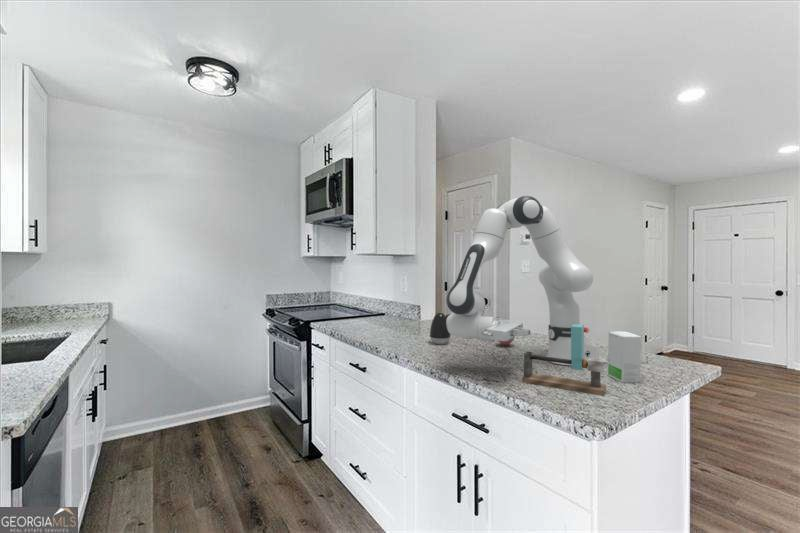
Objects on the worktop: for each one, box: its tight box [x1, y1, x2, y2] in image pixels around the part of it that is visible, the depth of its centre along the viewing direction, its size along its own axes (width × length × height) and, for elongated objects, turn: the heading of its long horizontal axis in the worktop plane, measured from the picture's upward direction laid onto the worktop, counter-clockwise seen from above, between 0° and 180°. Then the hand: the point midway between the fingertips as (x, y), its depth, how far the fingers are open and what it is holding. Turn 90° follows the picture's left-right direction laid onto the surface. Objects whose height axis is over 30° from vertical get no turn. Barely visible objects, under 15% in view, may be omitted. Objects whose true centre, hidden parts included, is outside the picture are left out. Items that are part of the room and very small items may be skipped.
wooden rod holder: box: [521, 351, 607, 396], centre depth 123 cm, size 24×7×10 cm, turn 57°
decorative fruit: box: [498, 336, 516, 347], centre depth 180 cm, size 9×8×10 cm
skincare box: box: [607, 330, 642, 384], centre depth 129 cm, size 8×7×16 cm
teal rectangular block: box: [570, 324, 585, 371], centre depth 121 cm, size 3×5×14 cm, turn 147°
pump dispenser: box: [429, 312, 452, 345], centre depth 187 cm, size 10×10×15 cm
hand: (529, 332), depth 129 cm, fingers closed
